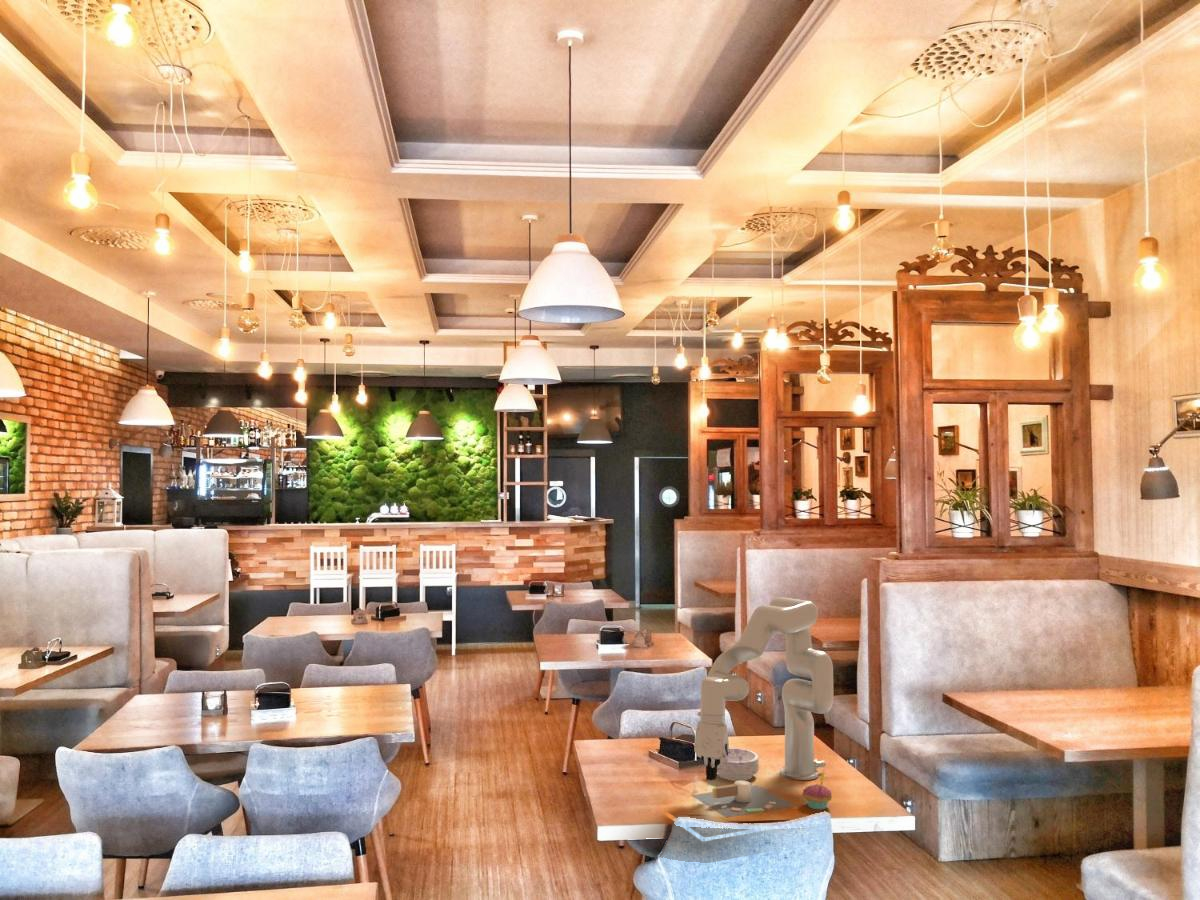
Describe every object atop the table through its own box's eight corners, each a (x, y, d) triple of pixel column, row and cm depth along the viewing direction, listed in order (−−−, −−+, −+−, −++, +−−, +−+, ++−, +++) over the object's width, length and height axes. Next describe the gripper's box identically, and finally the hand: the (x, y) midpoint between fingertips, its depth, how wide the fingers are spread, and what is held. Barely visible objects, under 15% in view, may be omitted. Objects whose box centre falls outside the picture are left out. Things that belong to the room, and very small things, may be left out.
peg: (744, 796, 284) (744, 779, 284) (753, 801, 280) (754, 784, 280) (708, 801, 279) (708, 785, 279) (717, 807, 274) (717, 790, 275)
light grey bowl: (726, 788, 295) (726, 763, 295) (703, 774, 309) (704, 750, 309) (767, 783, 300) (767, 758, 301) (743, 769, 315) (743, 745, 315)
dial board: (756, 788, 295) (756, 783, 295) (795, 809, 277) (795, 804, 277) (691, 798, 285) (691, 794, 285) (726, 820, 267) (726, 816, 267)
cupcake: (827, 804, 281) (827, 764, 281) (835, 814, 272) (835, 773, 273) (799, 804, 281) (799, 764, 281) (806, 814, 272) (806, 773, 273)
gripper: (685, 716, 285) (684, 776, 284) (726, 725, 276) (725, 787, 275) (699, 712, 291) (698, 771, 290) (740, 720, 281) (738, 781, 280)
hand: (711, 779), depth 282 cm, fingers closed
